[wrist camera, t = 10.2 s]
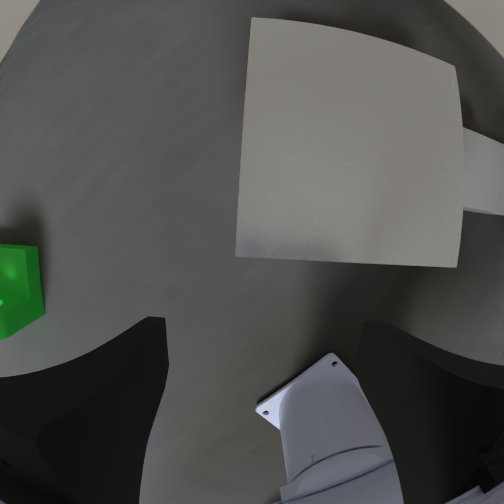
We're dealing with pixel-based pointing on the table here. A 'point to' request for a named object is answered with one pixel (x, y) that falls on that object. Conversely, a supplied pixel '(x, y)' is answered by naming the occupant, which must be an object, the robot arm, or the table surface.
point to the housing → (348, 150)
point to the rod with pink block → (483, 174)
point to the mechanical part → (19, 288)
